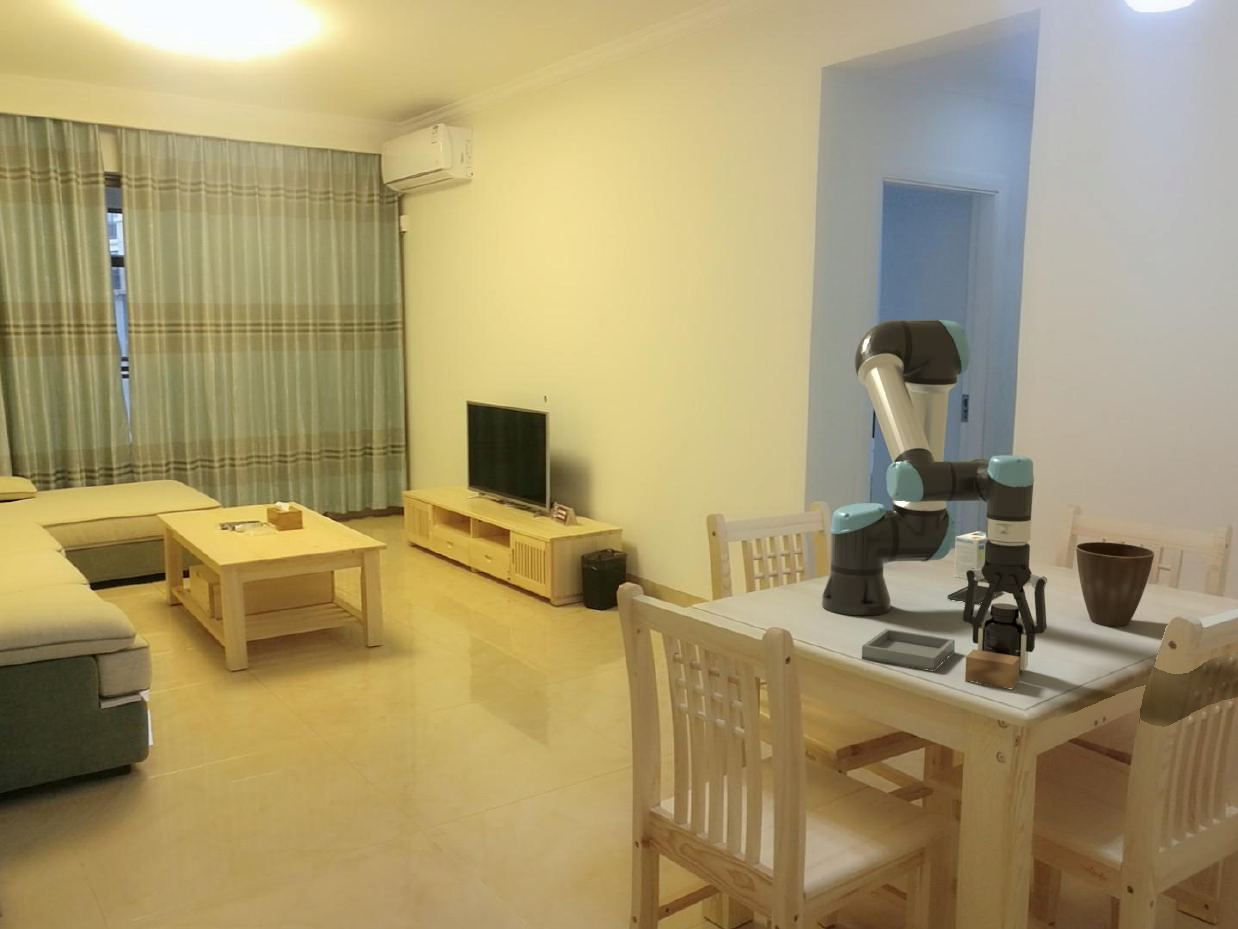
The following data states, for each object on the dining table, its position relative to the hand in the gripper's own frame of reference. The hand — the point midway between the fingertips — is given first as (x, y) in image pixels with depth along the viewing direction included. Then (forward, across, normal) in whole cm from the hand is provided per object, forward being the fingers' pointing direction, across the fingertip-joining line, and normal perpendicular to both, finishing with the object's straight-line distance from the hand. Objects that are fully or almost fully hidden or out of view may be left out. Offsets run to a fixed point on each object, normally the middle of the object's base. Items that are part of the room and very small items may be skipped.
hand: (1002, 664), depth 182 cm
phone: (+2, -18, +52) cm, 55 cm away
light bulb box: (+1, -23, +73) cm, 77 cm away
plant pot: (+1, +12, +45) cm, 47 cm away
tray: (+1, -17, -1) cm, 17 cm away
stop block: (+1, 0, -8) cm, 8 cm away
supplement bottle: (+1, 0, 0) cm, 1 cm away
